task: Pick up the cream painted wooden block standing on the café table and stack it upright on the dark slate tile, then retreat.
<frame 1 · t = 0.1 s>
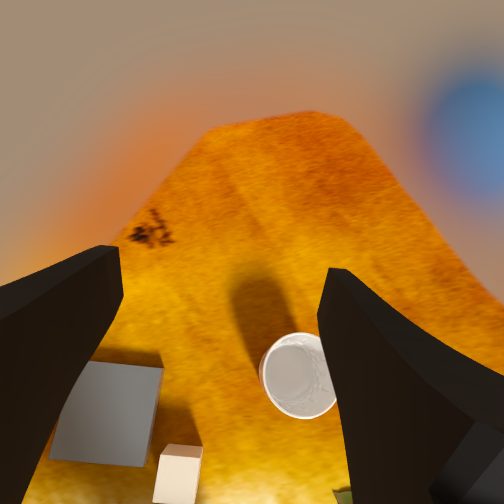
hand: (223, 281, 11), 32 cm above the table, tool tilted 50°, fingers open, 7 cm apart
cream block: (183, 465, 36), on the table
white cup: (284, 372, 41), on the table
slate tile: (113, 408, 37), on the table
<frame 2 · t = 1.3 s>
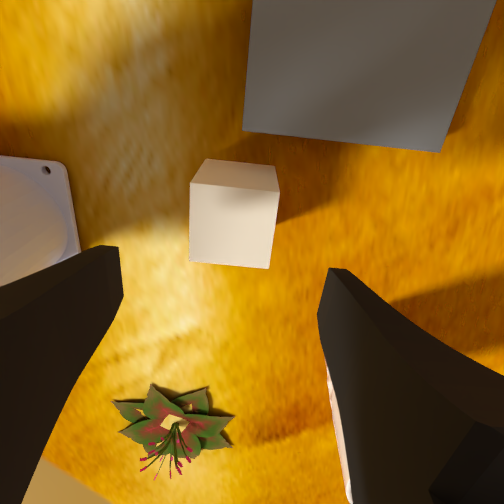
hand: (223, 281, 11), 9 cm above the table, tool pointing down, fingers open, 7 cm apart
cream block: (237, 195, 19), on the table
white cup: (365, 342, 25), on the table
slate tile: (356, 26, 15), on the table
lily flower: (176, 417, 31), on the table
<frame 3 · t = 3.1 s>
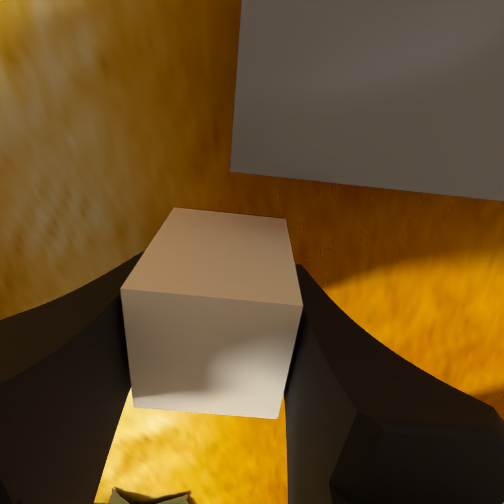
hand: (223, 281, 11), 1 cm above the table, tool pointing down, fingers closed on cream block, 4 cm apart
cream block: (226, 261, 12), on the table, touching gripper
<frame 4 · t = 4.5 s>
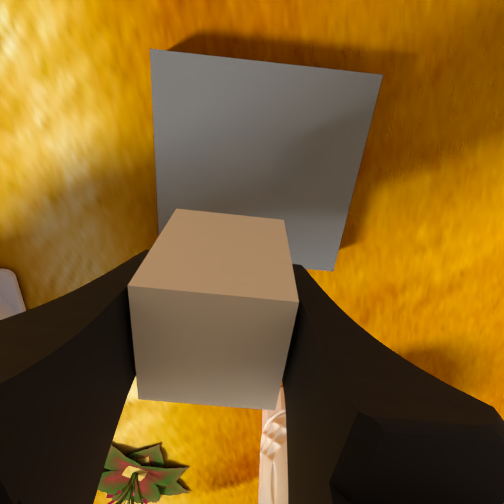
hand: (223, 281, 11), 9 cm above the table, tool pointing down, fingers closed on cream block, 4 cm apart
cream block: (226, 260, 13), point 7 cm above the table, touching gripper
white cup: (301, 405, 28), on the table
slate tile: (256, 168, 18), on the table
lily flower: (137, 466, 33), on the table
when the fingers open (5 cm above the table, at t = 6.2 s): cream block stays where it is, resting on slate tile.
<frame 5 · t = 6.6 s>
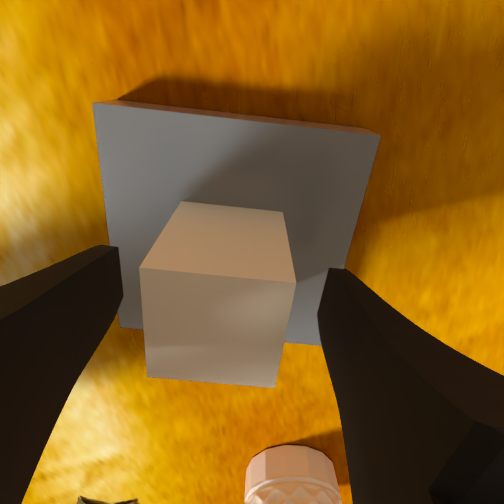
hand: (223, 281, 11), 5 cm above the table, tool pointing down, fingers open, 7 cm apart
cream block: (228, 251, 13), point 2 cm above the table, touching slate tile
white cup: (289, 466, 25), on the table
slate tile: (232, 227, 15), on the table
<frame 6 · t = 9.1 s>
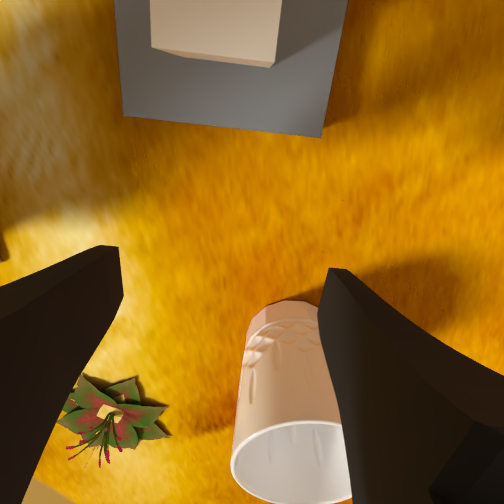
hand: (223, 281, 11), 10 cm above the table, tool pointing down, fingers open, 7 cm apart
cream block: (229, 9, 14), point 2 cm above the table, touching slate tile
white cup: (289, 331, 25), on the table
slate tile: (233, 12, 15), on the table
lily flower: (113, 407, 31), on the table
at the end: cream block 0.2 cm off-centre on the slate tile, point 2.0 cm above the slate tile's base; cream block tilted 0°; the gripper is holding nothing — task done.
